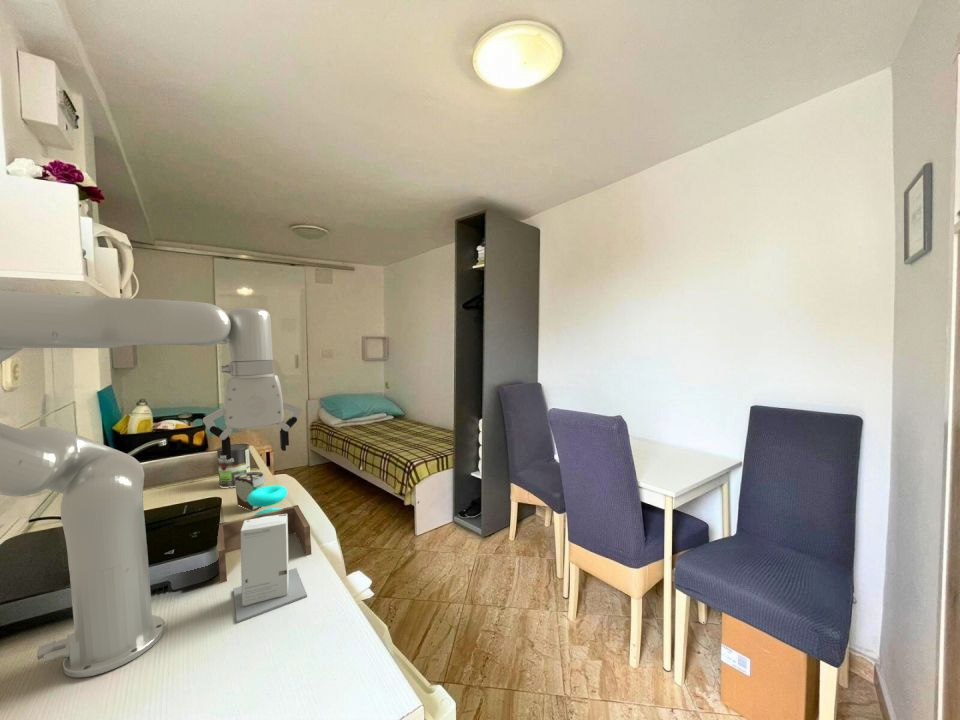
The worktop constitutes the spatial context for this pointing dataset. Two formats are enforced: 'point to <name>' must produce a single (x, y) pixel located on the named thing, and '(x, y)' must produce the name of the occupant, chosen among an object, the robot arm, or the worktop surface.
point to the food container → (247, 487)
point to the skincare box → (264, 558)
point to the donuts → (267, 497)
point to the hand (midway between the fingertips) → (257, 453)
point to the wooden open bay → (232, 530)
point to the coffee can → (233, 464)
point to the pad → (252, 610)
